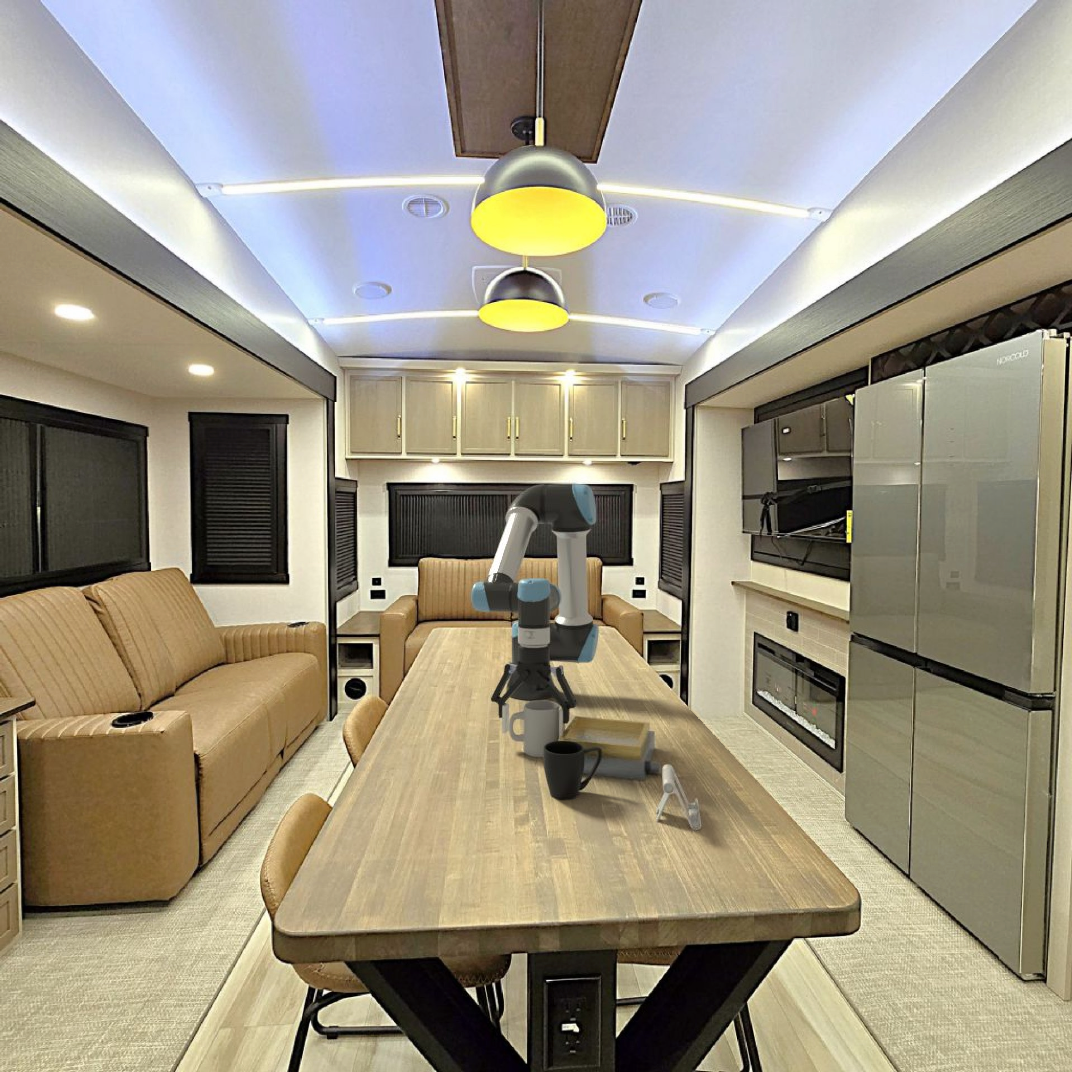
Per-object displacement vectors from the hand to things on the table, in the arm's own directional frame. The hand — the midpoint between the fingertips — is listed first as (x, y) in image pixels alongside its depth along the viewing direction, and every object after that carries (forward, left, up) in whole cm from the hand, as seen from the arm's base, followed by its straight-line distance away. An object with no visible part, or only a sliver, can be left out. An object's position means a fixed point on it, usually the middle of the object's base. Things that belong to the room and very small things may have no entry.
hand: (533, 734), depth 156 cm
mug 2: (+14, -20, -4) cm, 25 cm away
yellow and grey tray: (+18, 0, -4) cm, 19 cm away
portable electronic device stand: (+35, -25, -4) cm, 43 cm away
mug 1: (0, 0, -4) cm, 4 cm away
